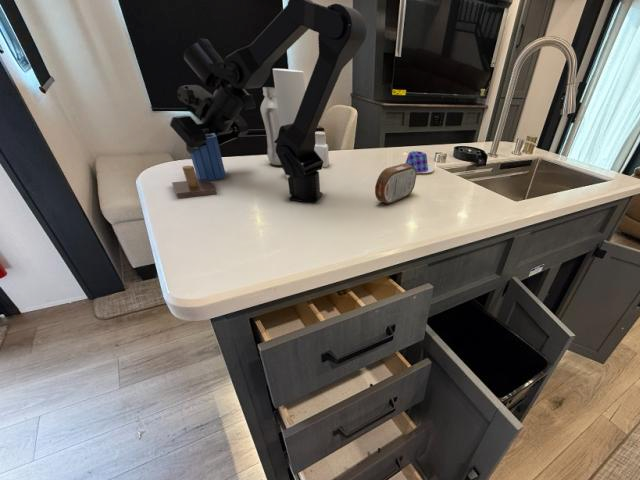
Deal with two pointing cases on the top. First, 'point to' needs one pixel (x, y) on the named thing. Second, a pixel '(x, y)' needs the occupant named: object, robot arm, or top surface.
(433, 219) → the top surface
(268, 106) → the plastic bottle
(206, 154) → the blue ribbed vase
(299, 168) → the robot arm
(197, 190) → the stand
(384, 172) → the tin
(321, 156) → the pepper shaker
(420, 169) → the blue checkered hat
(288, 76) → the cylindrical container
